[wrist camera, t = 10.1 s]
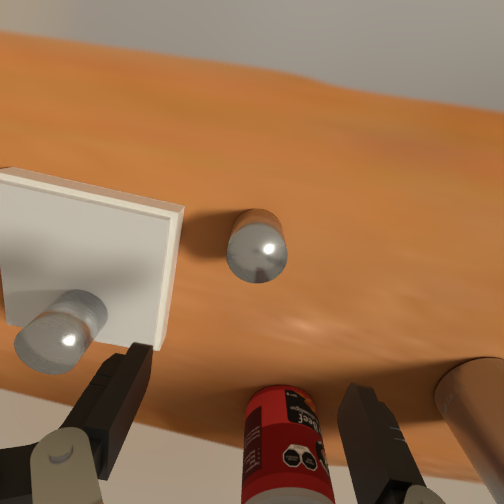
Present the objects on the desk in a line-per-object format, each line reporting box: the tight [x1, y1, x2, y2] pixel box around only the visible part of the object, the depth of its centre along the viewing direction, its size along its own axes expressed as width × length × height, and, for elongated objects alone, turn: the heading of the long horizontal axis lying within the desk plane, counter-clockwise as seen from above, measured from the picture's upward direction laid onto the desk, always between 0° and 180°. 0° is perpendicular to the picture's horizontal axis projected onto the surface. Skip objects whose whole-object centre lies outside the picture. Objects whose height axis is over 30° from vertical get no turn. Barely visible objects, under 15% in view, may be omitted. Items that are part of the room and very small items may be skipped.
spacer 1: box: [14, 289, 108, 375], centre depth 24 cm, size 4×4×5 cm
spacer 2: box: [227, 209, 287, 283], centre depth 24 cm, size 4×4×5 cm
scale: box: [0, 167, 185, 351], centre depth 26 cm, size 15×14×3 cm
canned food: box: [241, 385, 335, 504], centre depth 30 cm, size 8×8×11 cm
